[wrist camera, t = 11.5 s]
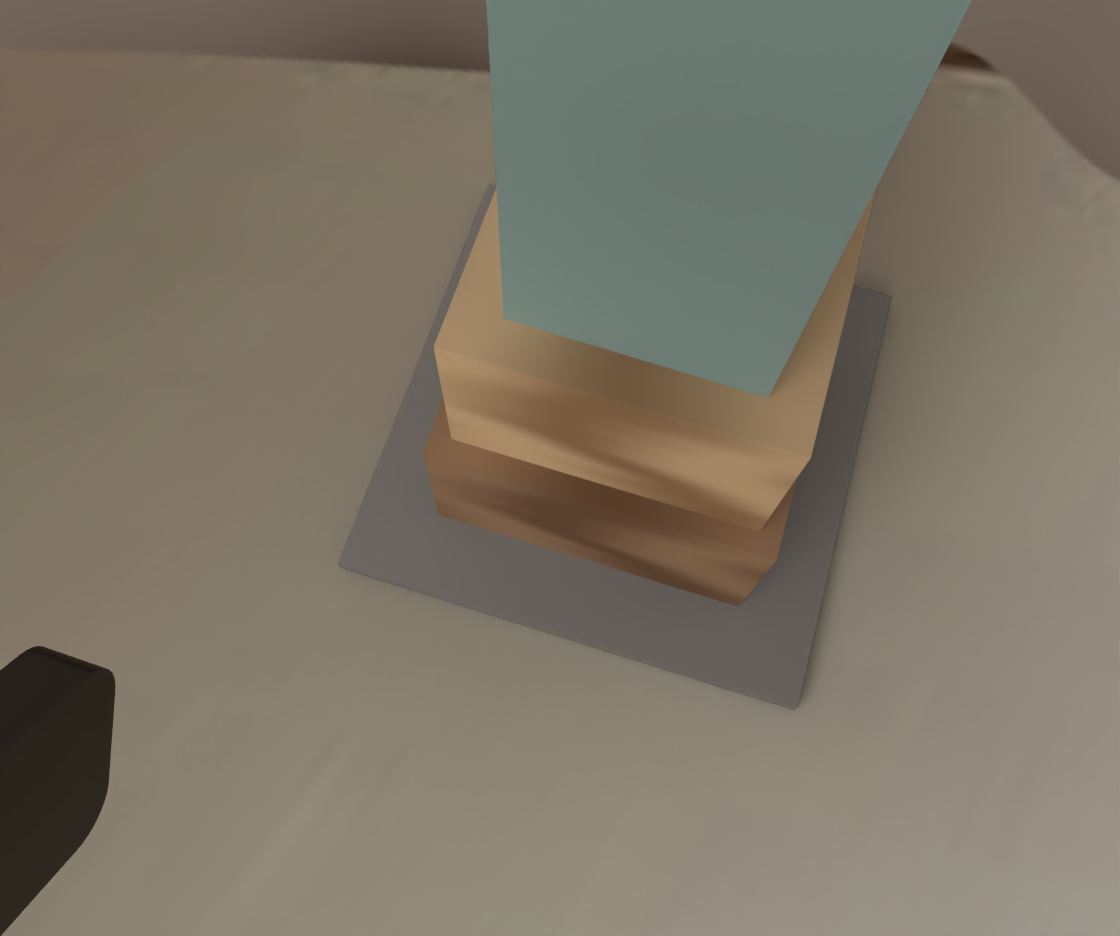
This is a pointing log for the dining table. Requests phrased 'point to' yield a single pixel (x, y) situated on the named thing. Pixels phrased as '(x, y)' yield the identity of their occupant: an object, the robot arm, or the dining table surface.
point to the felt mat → (609, 594)
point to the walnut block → (600, 520)
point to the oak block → (634, 400)
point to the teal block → (695, 164)
